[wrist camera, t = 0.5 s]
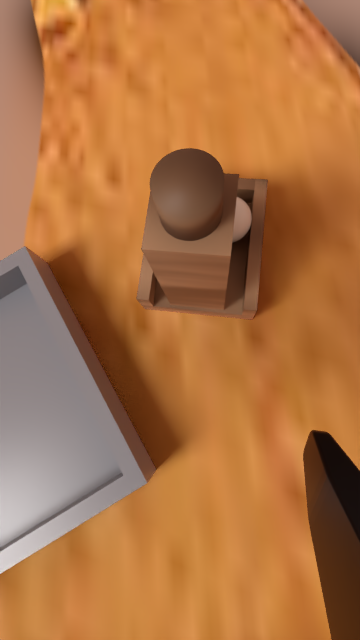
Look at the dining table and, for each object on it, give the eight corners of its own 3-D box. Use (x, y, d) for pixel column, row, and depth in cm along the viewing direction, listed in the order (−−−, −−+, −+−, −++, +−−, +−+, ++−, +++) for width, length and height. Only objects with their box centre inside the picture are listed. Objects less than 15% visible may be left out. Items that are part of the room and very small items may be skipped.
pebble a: (256, 236, 22) (264, 214, 20) (220, 258, 22) (222, 239, 19) (233, 203, 23) (237, 177, 20) (197, 224, 23) (196, 201, 20)
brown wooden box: (251, 320, 22) (295, 242, 10) (145, 309, 23) (72, 226, 11) (261, 203, 24) (309, 19, 12) (162, 197, 25) (114, 21, 13)
